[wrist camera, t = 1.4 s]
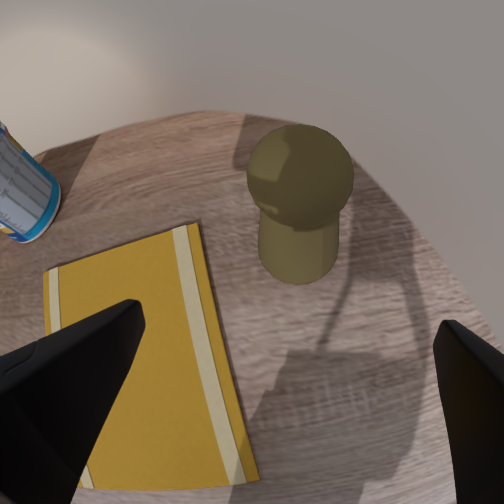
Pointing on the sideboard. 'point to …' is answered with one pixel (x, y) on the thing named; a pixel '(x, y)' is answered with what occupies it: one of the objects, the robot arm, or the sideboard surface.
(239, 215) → the sideboard surface
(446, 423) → the robot arm
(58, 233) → the sideboard surface
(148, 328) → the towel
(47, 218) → the blue plastic jar
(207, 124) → the sideboard surface
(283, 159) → the cork
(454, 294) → the sideboard surface
